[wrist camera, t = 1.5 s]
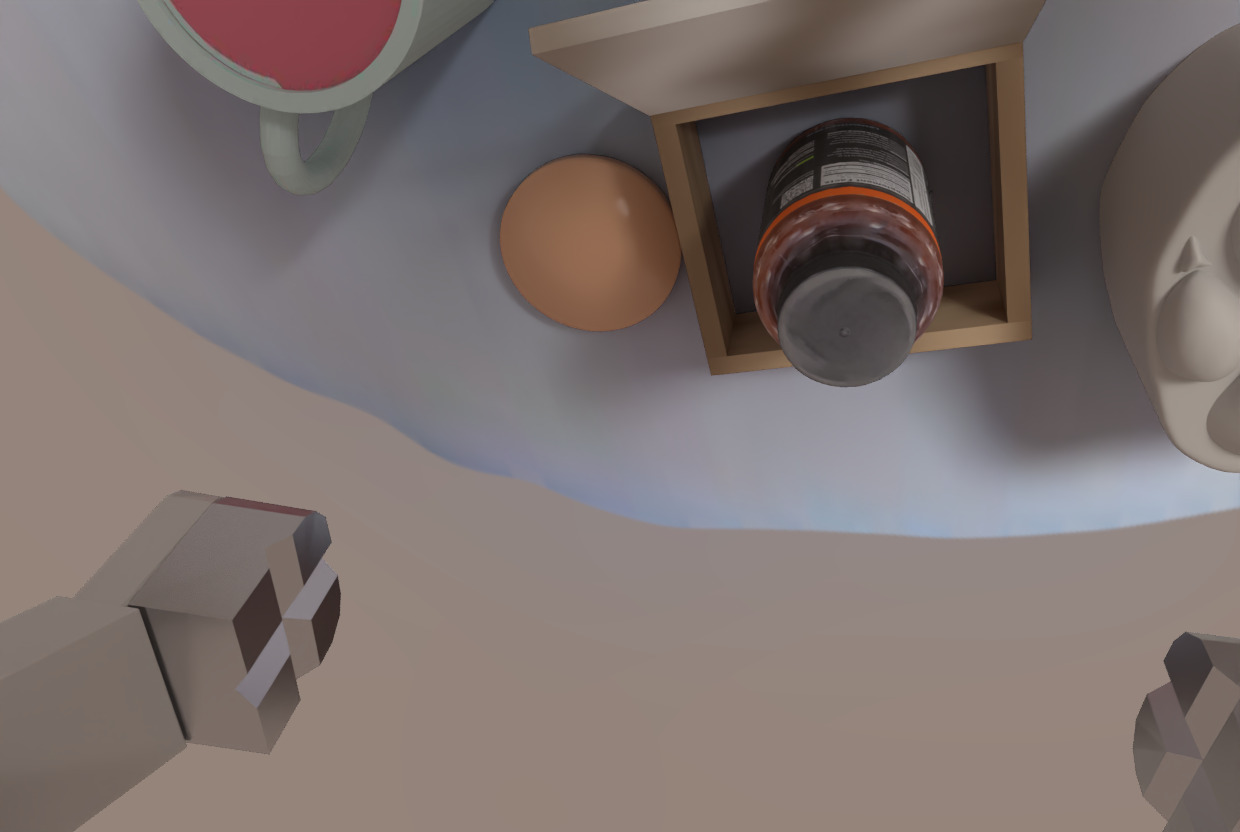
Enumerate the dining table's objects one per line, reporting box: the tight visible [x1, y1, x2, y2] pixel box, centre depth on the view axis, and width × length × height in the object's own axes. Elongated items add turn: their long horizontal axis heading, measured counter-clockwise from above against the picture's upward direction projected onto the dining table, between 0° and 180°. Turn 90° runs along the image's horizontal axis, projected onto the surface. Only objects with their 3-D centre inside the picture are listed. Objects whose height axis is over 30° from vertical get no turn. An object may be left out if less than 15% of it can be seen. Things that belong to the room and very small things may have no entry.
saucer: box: [500, 154, 682, 331], centre depth 40 cm, size 8×8×1 cm
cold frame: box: [528, 0, 1046, 376], centre depth 30 cm, size 12×16×14 cm
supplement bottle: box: [753, 118, 944, 387], centre depth 33 cm, size 6×6×11 cm
